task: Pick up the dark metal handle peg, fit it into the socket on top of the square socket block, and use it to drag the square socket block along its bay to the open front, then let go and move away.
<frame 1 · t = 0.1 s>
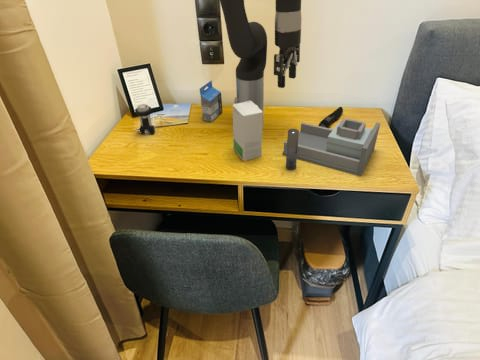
hand: (286, 82, 107), 17 cm above the table, tool pointing down, fingers open, 8 cm apart
grey black upright piece: (146, 133, 120), on the table
square socket block: (349, 139, 100), point 6 cm above the table, slide at 0.0 cm
handle peg: (290, 167, 100), on the table
electric trimmer: (330, 122, 123), on the table
label tape cartridge: (212, 117, 128), on the table
skincare box: (248, 153, 108), on the table
bay: (328, 151, 106), on the table
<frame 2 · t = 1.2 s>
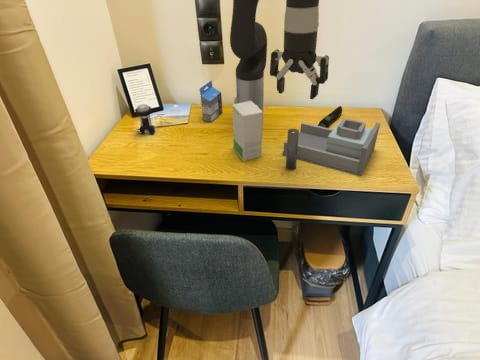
hand: (296, 95, 87), 22 cm above the table, tool pointing down, fingers open, 8 cm apart
nothing on the table moved.
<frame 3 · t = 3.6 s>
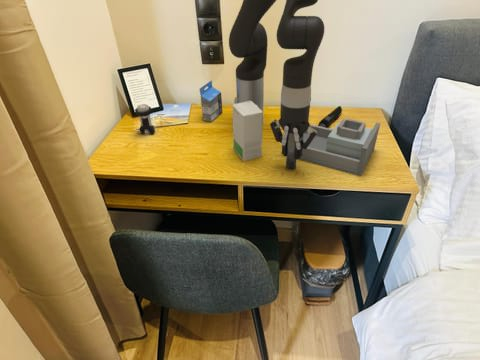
hand: (291, 156, 98), 4 cm above the table, tool pointing down, fingers closed on handle peg, 3 cm apart
handle peg: (290, 167, 100), on the table, touching gripper
everything else where it was.
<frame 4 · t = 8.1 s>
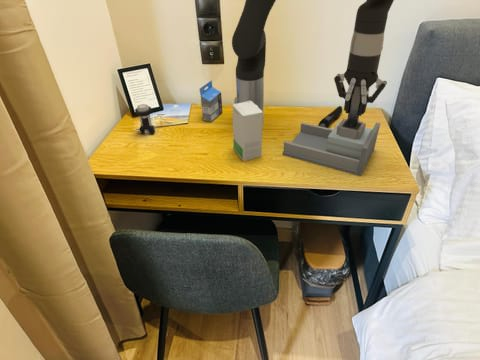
hand: (354, 113, 95), 14 cm above the table, tool pointing down, fingers closed on handle peg, 3 cm apart
handle peg: (351, 125, 98), point 11 cm above the table, touching gripper
everything else where it was.
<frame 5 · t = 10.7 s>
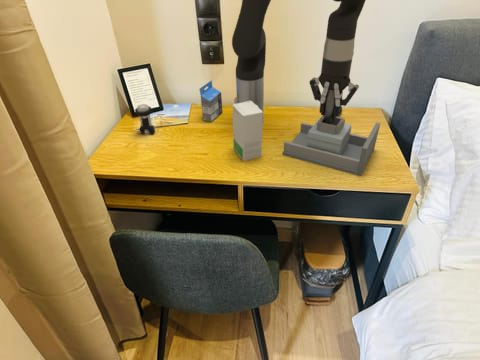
hand: (329, 115, 99), 12 cm above the table, tool pointing down, fingers closed on handle peg, 3 cm apart
square socket block: (329, 134, 103), point 6 cm above the table, slide at 6.0 cm, touching handle peg
handle peg: (327, 126, 102), point 8 cm above the table, touching square socket block, gripper
everything else where it was.
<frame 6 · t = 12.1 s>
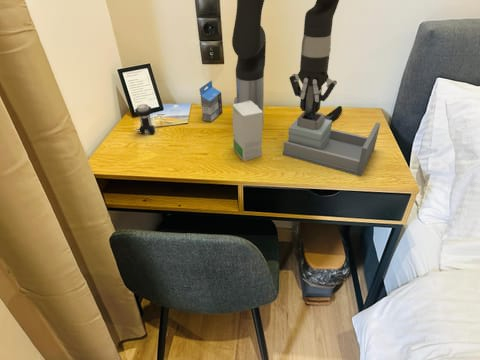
hand: (309, 110, 102), 12 cm above the table, tool pointing down, fingers closed on handle peg, 3 cm apart
square socket block: (310, 130, 105), point 6 cm above the table, slide at 12.1 cm, touching handle peg
handle peg: (308, 122, 104), point 9 cm above the table, touching square socket block, gripper
everything else where it was.
when the fingers open (12 cm above the table, at t = 12.4 s): handle peg stays where it is, resting on square socket block.
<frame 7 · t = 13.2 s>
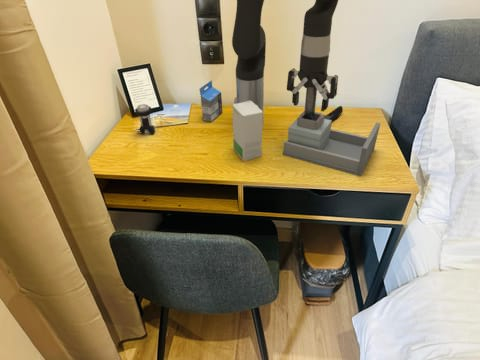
hand: (309, 107, 101), 13 cm above the table, tool pointing down, fingers open, 8 cm apart
handle peg: (308, 123, 104), point 8 cm above the table, touching square socket block
everything else where it was.
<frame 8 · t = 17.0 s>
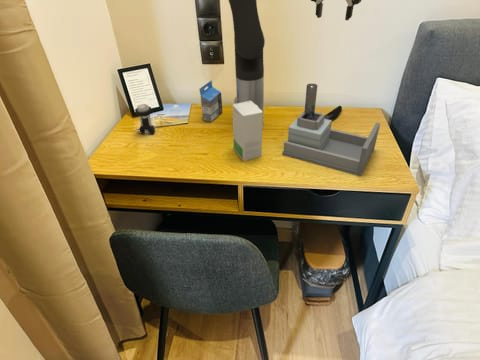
hand: (333, 18, 102), 34 cm above the table, tool pointing down, fingers open, 8 cm apart
at the end: square socket block slide at 12.2 cm; handle peg touching square socket block; handle peg tilted 0° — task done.
